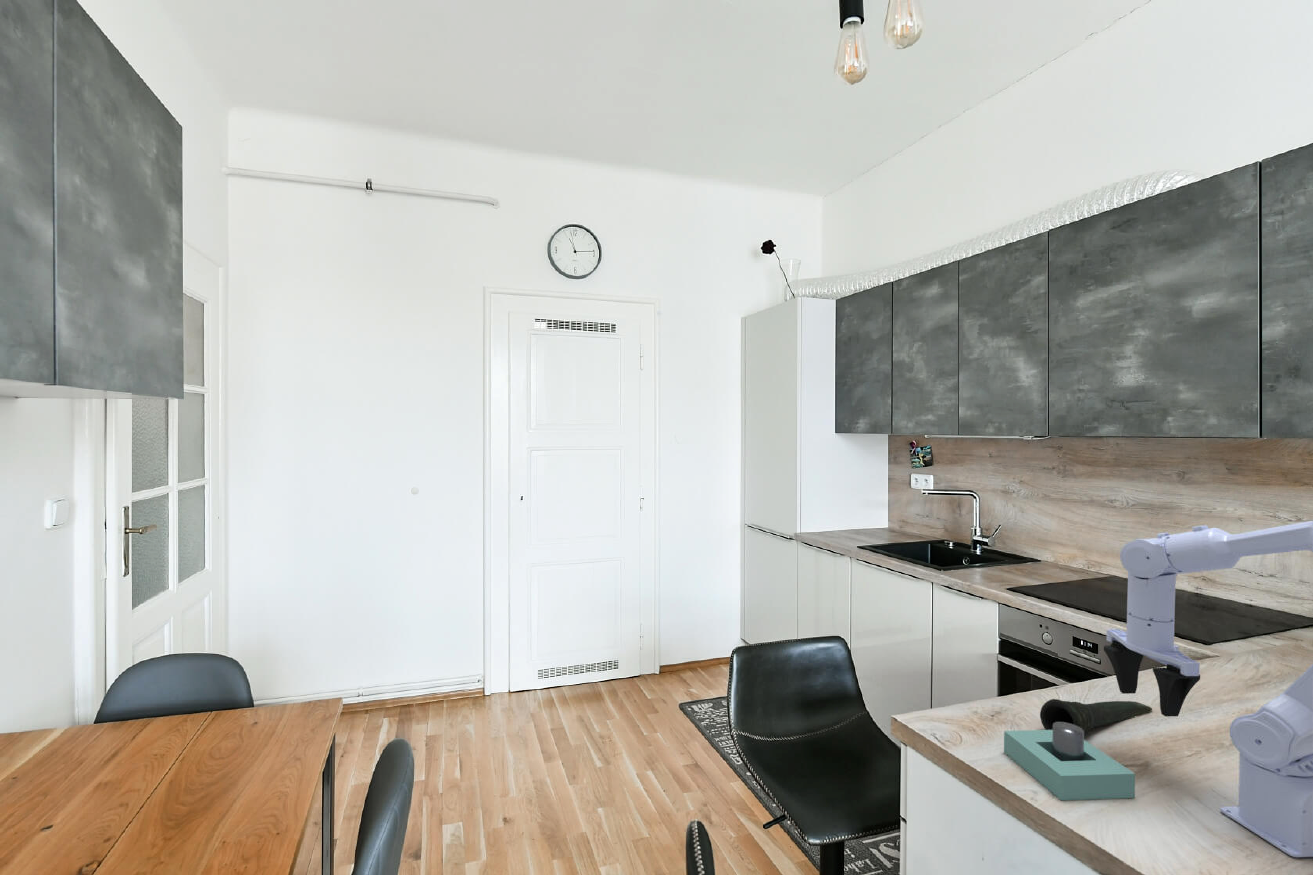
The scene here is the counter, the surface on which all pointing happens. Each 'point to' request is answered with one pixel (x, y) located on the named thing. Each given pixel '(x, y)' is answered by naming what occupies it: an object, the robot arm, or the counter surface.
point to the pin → (1067, 742)
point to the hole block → (1069, 768)
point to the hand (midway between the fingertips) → (1148, 703)
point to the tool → (1089, 713)
